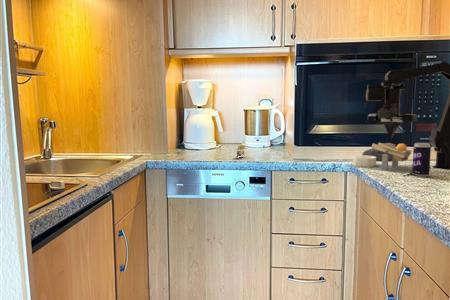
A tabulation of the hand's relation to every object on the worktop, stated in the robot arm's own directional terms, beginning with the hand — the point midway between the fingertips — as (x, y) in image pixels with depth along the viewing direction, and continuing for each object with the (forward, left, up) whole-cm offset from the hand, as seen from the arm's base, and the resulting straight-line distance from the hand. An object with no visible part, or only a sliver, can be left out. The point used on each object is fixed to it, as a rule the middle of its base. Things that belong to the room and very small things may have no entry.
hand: (390, 138), depth 155 cm
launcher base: (+11, +1, -12) cm, 16 cm away
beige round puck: (+11, -6, -11) cm, 16 cm away
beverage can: (+12, +17, -12) cm, 24 cm away
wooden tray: (+6, +4, -6) cm, 10 cm away
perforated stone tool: (-7, -8, -12) cm, 17 cm away
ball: (+11, +9, -3) cm, 14 cm away
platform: (+28, -62, -13) cm, 69 cm away
